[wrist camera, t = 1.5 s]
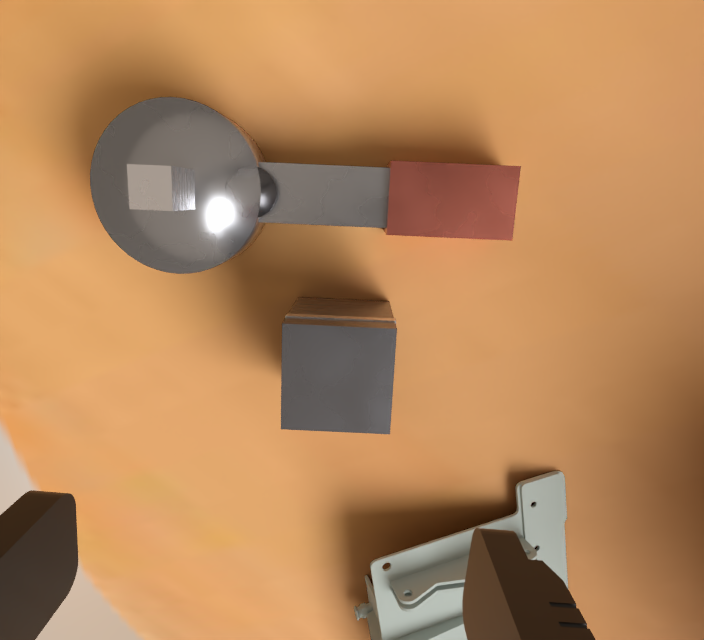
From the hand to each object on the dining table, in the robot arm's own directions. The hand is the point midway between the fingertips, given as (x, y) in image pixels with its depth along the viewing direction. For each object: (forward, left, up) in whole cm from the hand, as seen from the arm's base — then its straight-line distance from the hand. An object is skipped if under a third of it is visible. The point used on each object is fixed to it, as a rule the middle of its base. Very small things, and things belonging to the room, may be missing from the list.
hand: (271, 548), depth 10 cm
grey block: (-1, +1, -19) cm, 19 cm away
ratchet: (+2, -7, -19) cm, 20 cm away
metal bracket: (-10, +17, -19) cm, 27 cm away
